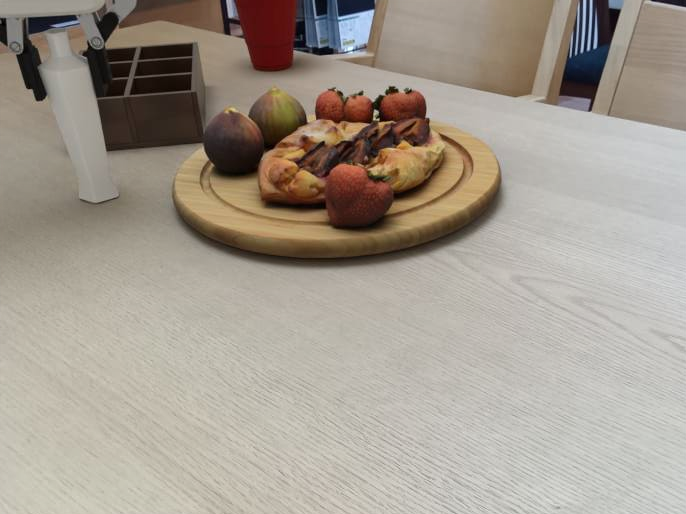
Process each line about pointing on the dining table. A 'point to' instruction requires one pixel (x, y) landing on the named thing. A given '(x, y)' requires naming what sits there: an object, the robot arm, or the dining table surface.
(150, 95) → the rack
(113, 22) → the robot arm
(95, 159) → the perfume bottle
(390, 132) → the wooden plate
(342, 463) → the dining table surface
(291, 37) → the plastic cup
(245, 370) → the dining table surface
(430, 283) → the dining table surface
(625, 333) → the dining table surface
